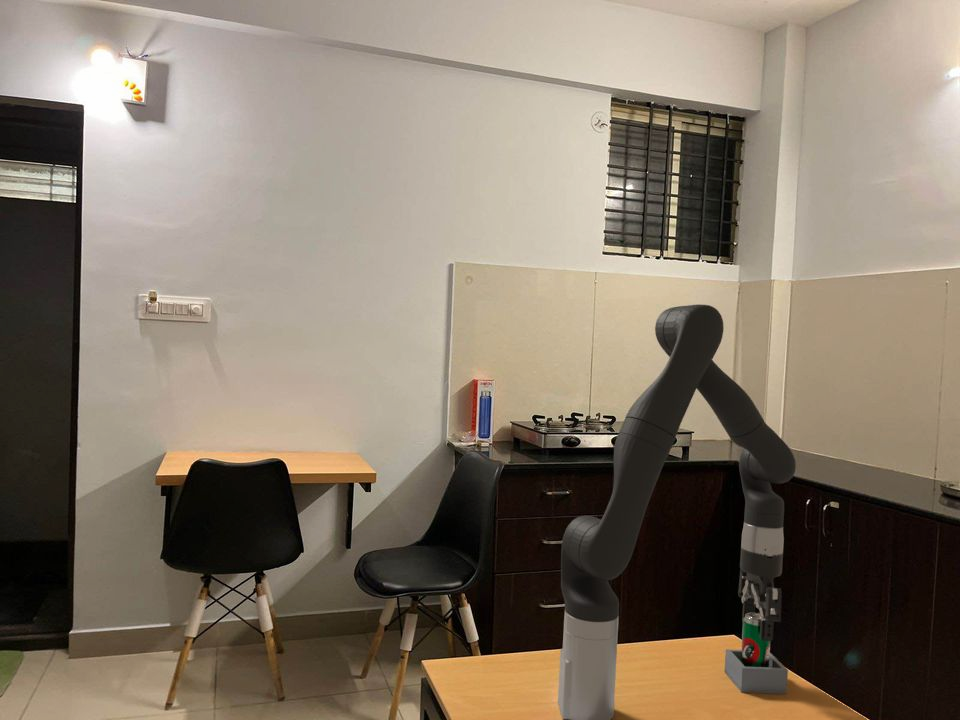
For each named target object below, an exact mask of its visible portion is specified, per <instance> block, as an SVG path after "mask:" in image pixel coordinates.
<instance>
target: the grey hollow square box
mask: <svg viewBox="0 0 960 720" xmlns="http://www.w3.org/2000/svg"><path fill="white" fill-rule="evenodd" d="M741 650H742V649H730V648H729V649H728V648H727V649H726V648H725V655H724V656H725V657H724V658H725V659H724V673H725V674H726V675H727V677H728V678H729V679H730V680H731V682H732V683H733V684H734V685H735V686H737V687H736V688H737V689H738V690H739V692H741V693H750V692H751V694H753V693H755V694H756V693H757V694H776V695H778V694H781V695H787V693H788V678H789V677H788V674H789V670H788V669H787V667H786V666H784V664H782V662H780V661H779V660H778V658H777V657H776V656H774V655H773V653H771V652H770V656H769V667H745V666H744V665H743V664H742V663H741Z"/></svg>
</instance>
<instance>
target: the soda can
mask: <svg viewBox="0 0 960 720" xmlns="http://www.w3.org/2000/svg"><path fill="white" fill-rule="evenodd" d="M760 623H761V616H760V612H755V613H746V614H745V618H744V619H743V621H742V629H741V631H742V633H741V649H740V650H741V663H742V664H743V665H744V666H745V667H769V656H770V653H771V652H770V651H771V641H762V640H761V639H760Z"/></svg>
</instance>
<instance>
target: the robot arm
mask: <svg viewBox="0 0 960 720" xmlns="http://www.w3.org/2000/svg"><path fill="white" fill-rule="evenodd" d="M654 330H655V331H654V332H655V333H654V334H655V337H656V340H657V342H658V344H659V346H660V348H661V350H663V351H664V353H665V354H666V355H667V356H668V357H669V358H668V361H667V363H666V365H665V367H664V368H663V370H662V371H661V373H660V374H659V376H658V377H657V378H656V379H655V380H654V381H653V382H652V383H651V384H650V385H649V386H648V387H647V388H646V389H645V390H644V391H643V392H642V394H640V396H638V397H637V399H636V400H635V401H634V402H633V404H631V405H632V406H631V407H630V408H629V410H628V412H627V413H626V415H625V418H624V420H623V422H622V425H621V427H620V430H619V432H618V434H617V437H616V438H615V443H614V448H613V474H614V475H613V489H612V493H611V496H610V499H609V501H608V504H607V507H606V508H605V511H604V514H603V516H602V518H597V517H595V516H592V515H581V516H578V517H576V518H574V519H572V520H571V522H570V523H569V524H568V525H567V527H566V528H565V532H564V533H563V537H562V541H561V553H560V555H561V556H560V587H561V589H560V590H561V594H562V596H563V601H564V616H563V617H564V619H563V635H562V636H563V637H562V639H563V640H562V648H561V649H560V652H559V653H560V654H559V674H558V691H557V692H558V693H557V704H558V707H559V711H560V715H561V718H562V719H563V720H613V718H614V714H615V694H616V677H617V676H616V675H617V673H616V672H617V659H618V658H617V656H618V655H617V654H618V653H617V652H618V632H619V619H620V618H619V617H620V616H619V614H620V601H619V598H618V596H617V594H616V593H615V592H614V590H613V589H612V587H611V585H610V582H609V581H611V580H614V579H617V578H618V577H619V576H620V575H621V574H622V573H623V572H624V571H625V569H626V568H627V567H628V565H629V563H630V560H631V558H632V555H633V554H634V549H635V547H636V543H637V540H638V538H639V534H640V531H641V527H642V524H643V520H644V517H645V514H646V511H647V508H648V505H649V502H650V501H651V498H652V495H653V491H654V489H655V486H656V484H657V483H658V479H659V477H660V474H661V471H662V469H663V467H664V465H665V462H666V460H667V458H668V456H669V454H670V451H671V450H672V447H673V445H674V443H675V440H676V437H677V436H678V435H677V434H678V432H679V430H680V429H679V428H681V427H680V426H681V424H682V422H683V419H684V417H685V415H686V413H687V411H688V408H689V406H690V403H691V402H692V399H693V397H694V395H695V392H696V391H697V392H699V393H700V394H701V396H702V397H703V398H704V400H705V401H706V402H707V404H708V405H709V407H710V408H711V410H712V411H713V413H714V415H716V417H717V419H718V421H719V422H720V425H721V426H722V428H723V429H724V430H725V432H726V434H727V436H728V437H729V438H730V440H731V441H732V442H733V443H734V444H735V445H736V446H738V447H740V448H743V449H742V452H741V453H740V455H739V461H738V468H739V469H738V470H739V475H740V481H741V488H742V492H743V496H744V501H745V504H744V515H743V517H744V519H743V528H742V532H741V544H740V545H741V546H740V558H739V559H740V561H739V568H740V570H739V580H738V581H739V582H738V591H737V595H738V598H741V603H742V614H741V616H742V618H741V621H742V622H743V619H744V618H745V614H746V613H756V608H757V609H758V610H759V613H760V616H761V623H760V639H761V640H762V641H770V642H772V641H773V639H774V627H775V626H774V624H775V623H774V622H778V623H779V622H780V623H781V619H782V598H783V597H782V593H783V592H782V588H780V587H779V588H777V587H775V586H774V579H775V578H776V577H780V576H781V575H782V573H783V560H784V559H783V557H784V542H785V541H784V540H785V537H784V516H785V501H784V499H783V498H782V497H781V496H780V495H778V494H777V493H775V492H774V490H773V488H772V485H771V483H772V484H785V483H788V482H789V481H790V480H791V479H793V477H794V475H795V474H796V469H797V467H796V466H797V465H796V459H795V456H794V454H793V452H792V450H791V449H790V447H789V445H788V444H786V442H785V441H784V440H783V439H782V438H781V437H780V436H779V435H778V434H777V433H776V432H775V430H773V429H772V428H771V427H770V426H769V425H768V424H767V423H766V422H765V419H764V418H763V416H762V415H761V413H760V411H759V409H758V407H757V406H756V404H755V403H754V400H752V399H751V396H750V395H748V393H747V392H746V391H745V390H744V389H743V388H742V386H740V384H738V383H737V382H736V381H735V380H734V379H733V378H731V377H730V376H729V375H728V374H727V373H726V372H725V371H724V370H722V368H720V367H719V365H717V363H715V362H714V357H715V355H716V354H717V351H718V349H719V348H720V346H721V345H720V344H721V342H722V340H723V335H724V320H723V317H722V315H721V313H720V312H719V310H718V309H717V308H715V307H714V306H713V305H708V304H690V305H689V304H688V305H680V306H673V307H669V308H667V309H665V310H663V311H661V313H660V314H659V315H658V317H657V319H656V322H655V326H654Z"/></svg>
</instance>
